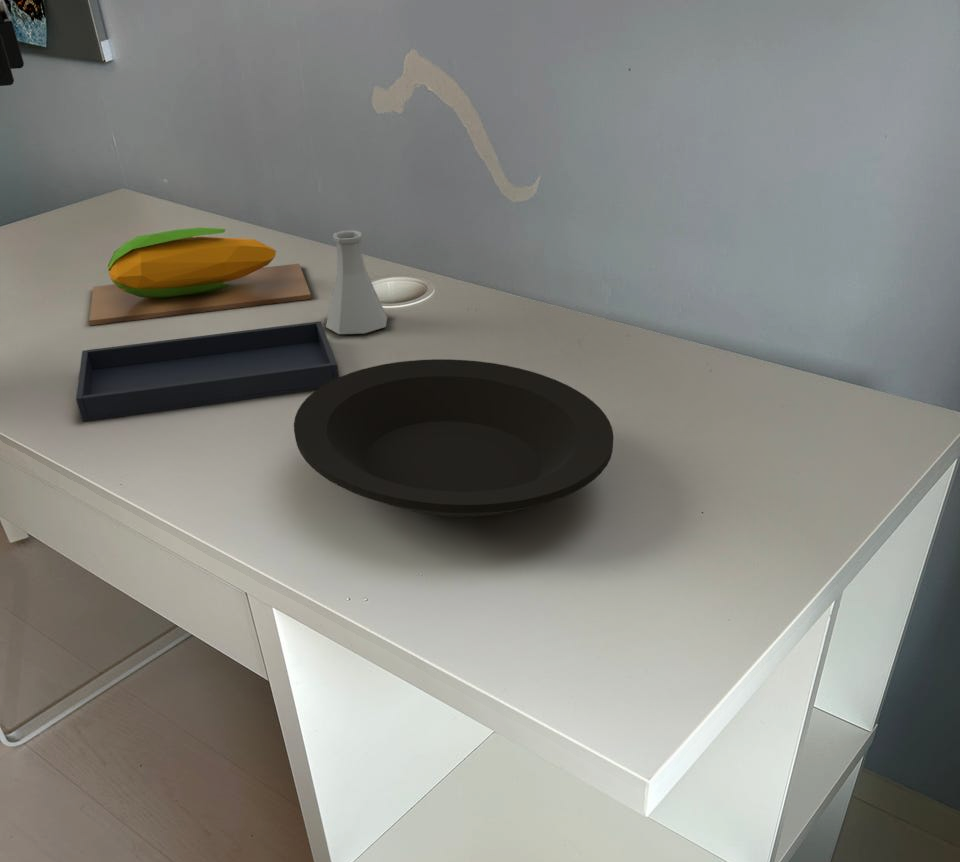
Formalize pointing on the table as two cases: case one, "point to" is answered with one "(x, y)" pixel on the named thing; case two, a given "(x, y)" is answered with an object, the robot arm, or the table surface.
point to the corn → (184, 262)
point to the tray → (203, 370)
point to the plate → (453, 436)
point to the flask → (353, 290)
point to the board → (202, 297)
